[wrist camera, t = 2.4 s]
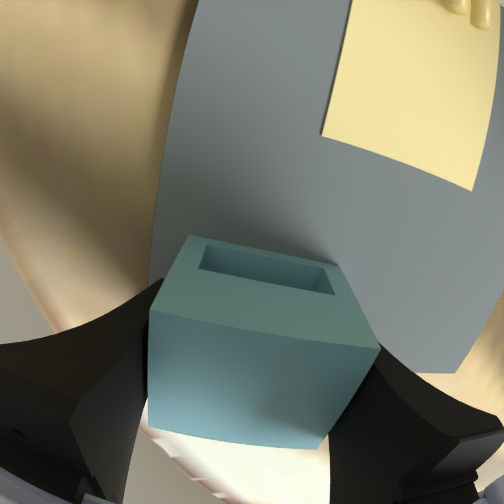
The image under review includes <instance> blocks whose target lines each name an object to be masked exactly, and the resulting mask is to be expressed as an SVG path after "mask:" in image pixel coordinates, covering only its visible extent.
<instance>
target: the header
mask: <svg viewBox="0 0 504 504" xmlns="http://www.w3.org/2000/svg"><path fill="white" fill-rule="evenodd" d="M496 1H498V2H499V3H500V5H501V6H502V7H504V0H496ZM445 7H446V9H447V10H448V11H450V12H452V13H454V14H457V15H466V14H467V9H468V0H445ZM470 23H471V25H472V26H474V27H475V28H477V29H479V30H482V31H489V30H491V0H471V10H470Z"/></svg>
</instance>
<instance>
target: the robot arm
mask: <svg viewBox="0 0 504 504" xmlns="http://www.w3.org/2000/svg"><path fill="white" fill-rule="evenodd" d="M164 280H165V279H164V278H161V279H159V280H157V281H156V282H154V283H153V284H152V285H150V286H149V287H147V288H146V289H145V290H143V291H142V292H140V293H139V294H137V295H136V296H134V297H133V298H131V299H130V300H128V301H127V302H125V303H124V304H122V305H121V306H119V307H117V308H115V309H114V310H112V311H110V312H109V313H107V314H105V315H103V316H101V317H99V318H97V319H95V320H92V321H90V322H88V323H86V324H83V325H81V326H78V327H75V328H72V329H69V330H66V331H63V332H60V333H58V334H54V335H50V336H47V337H43V338H38V339H33V340H29V341H23V342H16V343H8V344H0V504H122V502H123V497H124V491H125V485H126V480H127V475H128V470H129V465H130V461H131V456H132V451H133V447H134V443H135V439H136V435H137V431H138V427H139V423H140V419H141V416H142V412H143V409H144V406H145V403H146V400H147V397H148V335H149V312H150V308H151V306H152V304H153V302H154V300H155V298H156V296H157V294H158V292H159V290H160V288H161V286H162V284H163V282H164ZM378 343H379V342H378ZM379 345H380V347H381V350H380V352H379V354H378V355H377V357H376V359H375V361H374V362H373V364H372V366H371V368H370V369H369V371H368V373H367V374H366V376H365V378H364V379H363V381H362V383H361V384H360V386H359V388H358V389H357V391H356V392H355V394H354V396H353V397H352V399H351V400H350V402H349V403H348V405H347V406H346V408H345V409H344V411H343V412H342V414H341V415H340V417H339V418H338V420H337V421H336V423H335V424H334V426H333V427H332V429H331V430H330V431H329V433H328V437H329V452H330V504H504V475H503V476H501V477H499V478H498V479H496V480H495V481H493V482H492V483H491V484H489V485H488V486H487V487H486V488H485V489H484V490H483V491H480V492H477V490H476V487H475V485H474V481H476V480H477V479H478V474H477V472H476V469H478V468H479V467H480V466H481V465H482V464H483V463H484V462H485V461H486V460H488V459H489V458H490V457H491V456H492V455H493V454H494V453H495V452H496V451H497V450H498V449H499V448H500V446H501V445H502V444H503V442H504V426H503V425H502V423H501V421H500V420H499V418H498V417H497V416H495V415H493V414H490V413H487V412H484V411H482V410H479V409H476V408H473V407H471V406H469V405H467V404H465V403H463V402H460V401H458V400H456V399H454V398H453V397H451V396H449V395H447V394H445V393H444V392H442V391H440V390H439V389H437V388H435V387H434V386H432V385H431V384H429V383H428V382H426V381H425V380H423V379H422V378H420V377H419V376H418V375H416V374H415V373H414V372H412V371H411V370H410V369H408V368H407V367H406V366H405V365H404V364H402V363H401V362H400V361H399V360H398V359H397V358H396V357H394V356H393V355H392V354H391V353H390V352H389V351H388V350H387V349H386V348H385V347H384V346H382V345H381V344H380V343H379Z"/></svg>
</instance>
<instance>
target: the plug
mask: <svg viewBox="0 0 504 504" xmlns="http://www.w3.org/2000/svg"><path fill="white" fill-rule="evenodd" d="M380 350H381V347H380V345H379V343H378V341H377V339H376V337H375V335H374V333H373V331H372V329H371V327H370V324H369V322H368V320H367V318H366V316H365V314H364V312H363V310H362V308H361V306H360V304H359V303H358V301H357V299H356V297H355V295H354V293H353V291H352V289H351V287H350V285H349V283H348V281H347V279H346V277H345V276H344V274H343V272H342V270H341V268H340V266H338V265H333V264H328V263H323V262H319V261H314V260H309V259H304V258H300V257H295V256H290V255H285V254H281V253H276V252H271V251H266V250H261V249H257V248H252V247H247V246H242V245H237V244H233V243H228V242H223V241H218V240H213V239H208V238H204V237H199V236H194V235H189V236H188V237H187V239H186V241H185V243H184V245H183V246H182V248H181V250H180V252H179V254H178V256H177V258H176V259H175V261H174V263H173V265H172V267H171V269H170V271H169V273H168V274H167V276H166V278H165V280H164V282H163V284H162V286H161V288H160V290H159V292H158V294H157V296H156V298H155V300H154V302H153V304H152V306H151V308H150V312H149V335H148V426H150V427H154V428H158V429H162V430H166V431H171V432H175V433H180V434H185V435H190V436H195V437H200V438H206V439H212V440H218V441H224V442H231V443H238V444H246V445H255V446H265V447H277V448H292V449H317V448H318V447H319V445H320V444H321V443H322V441H323V440H324V438H325V437H326V436H327V434H328V433H329V431H330V430H331V429H332V427H333V426H334V424H335V423H336V421H337V420H338V418H339V417H340V415H341V414H342V412H343V411H344V409H345V408H346V406H347V405H348V403H349V402H350V400H351V399H352V397H353V396H354V394H355V392H356V391H357V389H358V388H359V386H360V384H361V383H362V381H363V379H364V378H365V376H366V374H367V373H368V371H369V369H370V368H371V366H372V364H373V362H374V361H375V359H376V357H377V355H378V354H379V352H380Z"/></svg>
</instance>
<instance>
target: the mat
mask: <svg viewBox="0 0 504 504" xmlns="http://www.w3.org/2000/svg"><path fill="white" fill-rule="evenodd" d="M470 10H471V0H468V9H467V14H466V15H457V14H454V13H452V12H450V11H448V10H447V9H446V7H445V0H199V2H198V6H197V9H196V12H195V16H194V19H193V22H192V26H191V30H190V33H189V37H188V41H187V44H186V48H185V52H184V56H183V60H182V64H181V68H180V72H179V77H178V81H177V85H176V90H175V95H174V99H173V104H172V109H171V114H170V119H169V124H168V129H167V135H166V140H165V146H164V152H163V158H162V164H161V171H160V178H159V184H158V192H157V199H156V207H155V215H154V224H153V233H152V243H151V254H150V265H149V278H148V287H149V286H150V285H152V284H153V283H154V282H156V281H157V280H159V279H161V278H164V279H165V278H166V276H167V274H168V273H169V271H170V269H171V267H172V265H173V263H174V261H175V259H176V258H177V256H178V254H179V252H180V250H181V248H182V246H183V245H184V243H185V241H186V239H187V237H188V236H189V235H194V236H199V237H204V238H208V239H213V240H218V241H223V242H228V243H233V244H237V245H242V246H247V247H252V248H257V249H261V250H266V251H271V252H276V253H281V254H285V255H290V256H295V257H300V258H304V259H309V260H314V261H319V262H323V263H328V264H333V265H338V266H340V268H341V270H342V272H343V274H344V276H345V277H346V279H347V281H348V283H349V285H350V287H351V289H352V291H353V293H354V295H355V297H356V299H357V301H358V303H359V304H360V306H361V308H362V310H363V312H364V314H365V316H366V318H367V320H368V322H369V324H370V327H371V329H372V331H373V333H374V335H375V337H376V339H377V341H378V342H379V343H380V344H381V345H382V346H384V347H385V348H386V349H387V350H388V351H389V352H390V353H391V354H392V355H393V356H394V357H396V358H397V359H398V360H399V361H400V362H401V363H402V364H404V365H405V366H406V367H407V368H408V369H410V370H411V371H412V372H414V373H455V372H456V371H457V369H458V368H459V367H460V365H461V364H462V362H463V360H464V359H465V357H466V356H467V354H468V353H469V351H470V350H471V348H472V346H473V345H474V343H475V341H476V340H477V338H478V336H479V335H480V333H481V331H482V330H483V328H484V326H485V324H486V323H487V321H488V319H489V317H490V315H491V313H492V312H493V310H494V308H495V306H496V304H497V302H498V300H499V298H500V296H501V294H502V292H503V290H504V7H502V6H501V5H500V3H499V2H498V1H496V0H491V30H489V31H482V30H479V29H477V28H475V27H474V26H472V25H471V23H470Z"/></svg>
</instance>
